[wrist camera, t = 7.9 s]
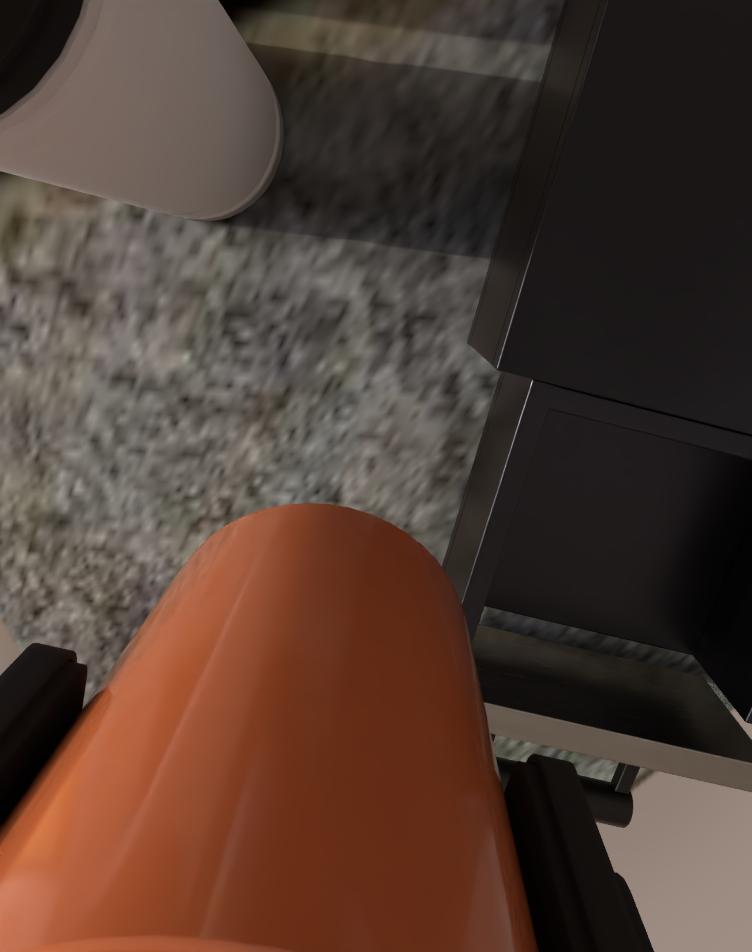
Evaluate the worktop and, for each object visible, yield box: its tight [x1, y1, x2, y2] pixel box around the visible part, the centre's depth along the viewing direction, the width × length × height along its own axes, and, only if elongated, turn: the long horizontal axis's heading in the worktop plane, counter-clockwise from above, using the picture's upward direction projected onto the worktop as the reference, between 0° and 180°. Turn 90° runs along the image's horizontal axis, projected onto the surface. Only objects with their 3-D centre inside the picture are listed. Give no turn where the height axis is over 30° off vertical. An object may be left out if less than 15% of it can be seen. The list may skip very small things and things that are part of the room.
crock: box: [0, 503, 539, 952], centre depth 9 cm, size 6×6×9 cm
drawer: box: [442, 371, 752, 828], centre depth 26 cm, size 17×14×6 cm
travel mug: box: [0, 0, 284, 221], centre depth 16 cm, size 6×7×20 cm
